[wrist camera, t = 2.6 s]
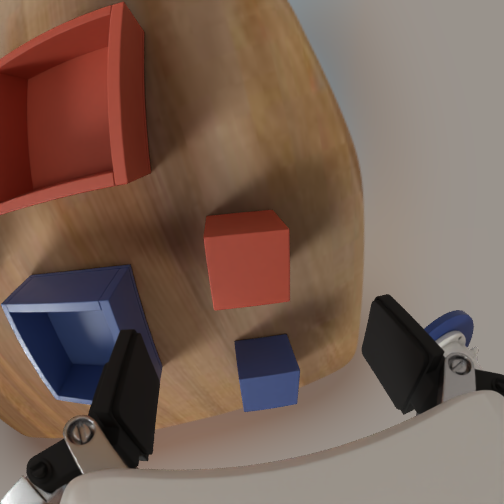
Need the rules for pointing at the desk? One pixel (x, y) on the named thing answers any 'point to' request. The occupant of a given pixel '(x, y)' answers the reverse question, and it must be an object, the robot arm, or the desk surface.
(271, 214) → the red block
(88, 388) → the blue bin
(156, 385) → the robot arm
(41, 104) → the red bin
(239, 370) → the blue block
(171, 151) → the desk surface
